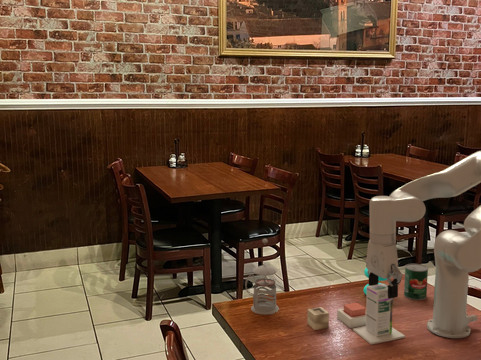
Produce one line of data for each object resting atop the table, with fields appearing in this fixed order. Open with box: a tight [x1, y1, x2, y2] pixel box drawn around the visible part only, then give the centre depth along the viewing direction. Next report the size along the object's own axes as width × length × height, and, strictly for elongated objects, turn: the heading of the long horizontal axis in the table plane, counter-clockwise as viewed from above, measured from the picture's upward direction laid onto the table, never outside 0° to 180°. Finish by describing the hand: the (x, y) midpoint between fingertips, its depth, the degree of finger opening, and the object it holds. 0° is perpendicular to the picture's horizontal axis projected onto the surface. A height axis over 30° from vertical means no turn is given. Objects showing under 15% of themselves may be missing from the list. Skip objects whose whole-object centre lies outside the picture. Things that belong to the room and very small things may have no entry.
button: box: [343, 302, 366, 317], centre depth 170 cm, size 5×5×3 cm
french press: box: [244, 238, 280, 316], centre depth 179 cm, size 10×12×25 cm
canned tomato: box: [403, 263, 429, 301], centre depth 190 cm, size 8×8×11 cm
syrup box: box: [365, 282, 394, 337], centre depth 160 cm, size 6×6×14 cm
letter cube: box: [306, 306, 330, 331], centre depth 167 cm, size 5×5×5 cm
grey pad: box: [352, 325, 406, 345], centre depth 161 cm, size 12×10×1 cm
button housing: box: [336, 307, 366, 329], centre depth 170 cm, size 8×8×3 cm
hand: (382, 291), depth 159 cm, fingers open, 9 cm apart
